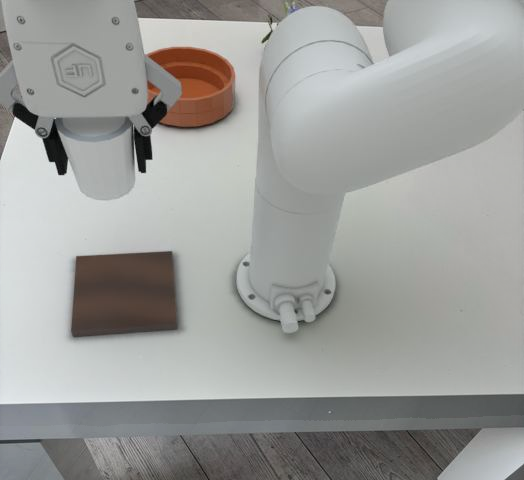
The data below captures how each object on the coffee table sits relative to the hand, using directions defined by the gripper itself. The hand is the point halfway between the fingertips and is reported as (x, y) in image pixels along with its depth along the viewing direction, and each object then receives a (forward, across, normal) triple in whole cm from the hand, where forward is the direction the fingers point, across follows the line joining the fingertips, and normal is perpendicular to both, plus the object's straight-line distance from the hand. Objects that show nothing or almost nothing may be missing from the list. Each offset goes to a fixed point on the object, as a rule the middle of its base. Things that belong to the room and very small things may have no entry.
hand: (103, 164), depth 53 cm
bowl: (+18, +9, +41) cm, 45 cm away
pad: (+18, 0, -1) cm, 18 cm away
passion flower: (+18, +29, +54) cm, 64 cm away
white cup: (+2, 0, 0) cm, 2 cm away
